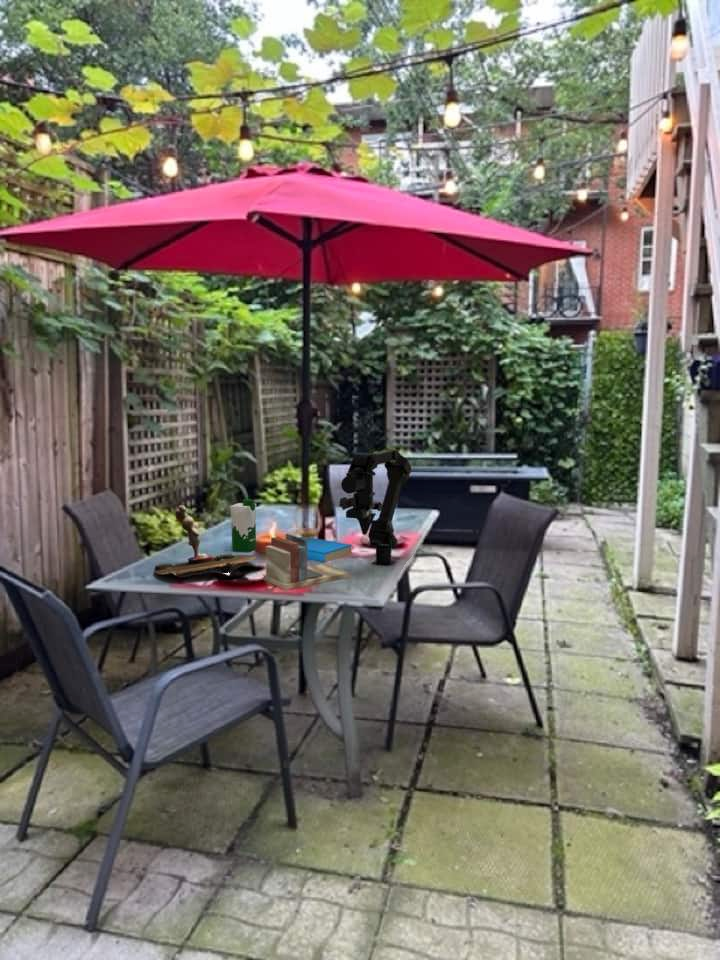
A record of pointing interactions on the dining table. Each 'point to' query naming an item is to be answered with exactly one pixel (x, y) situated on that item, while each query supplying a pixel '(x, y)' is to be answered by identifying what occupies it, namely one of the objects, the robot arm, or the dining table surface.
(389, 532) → the robot arm
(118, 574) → the dining table surface
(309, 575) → the bookend
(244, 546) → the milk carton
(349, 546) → the book
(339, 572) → the book shelf
